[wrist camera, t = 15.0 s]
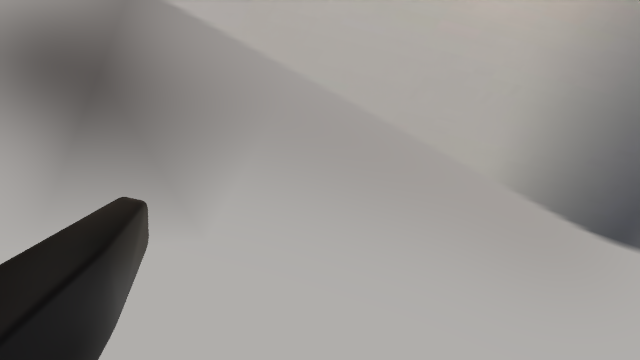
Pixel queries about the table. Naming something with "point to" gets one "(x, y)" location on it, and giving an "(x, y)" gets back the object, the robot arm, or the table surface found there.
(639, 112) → the table surface
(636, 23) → the table surface
